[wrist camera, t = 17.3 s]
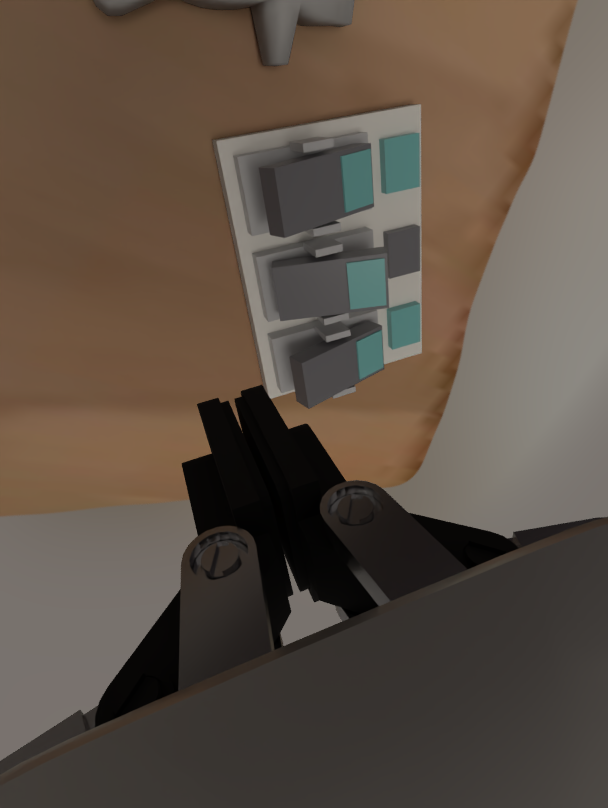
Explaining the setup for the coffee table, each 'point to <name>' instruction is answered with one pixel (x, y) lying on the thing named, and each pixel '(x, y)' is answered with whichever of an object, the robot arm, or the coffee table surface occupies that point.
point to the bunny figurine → (264, 19)
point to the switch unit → (329, 233)
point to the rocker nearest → (317, 188)
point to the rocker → (337, 364)
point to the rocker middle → (331, 284)
